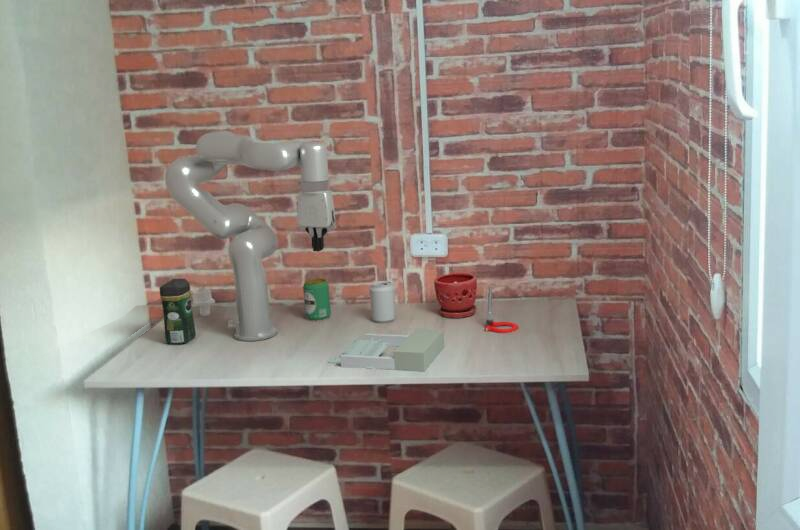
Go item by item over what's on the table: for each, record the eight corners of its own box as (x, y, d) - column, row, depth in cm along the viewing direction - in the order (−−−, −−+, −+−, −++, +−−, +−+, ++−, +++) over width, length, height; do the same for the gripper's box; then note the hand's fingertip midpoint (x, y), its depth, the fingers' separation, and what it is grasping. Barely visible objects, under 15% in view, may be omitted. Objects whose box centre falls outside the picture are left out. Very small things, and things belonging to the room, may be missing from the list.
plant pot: (456, 306, 292) (454, 270, 290) (486, 313, 283) (485, 275, 280) (427, 315, 284) (425, 278, 281) (457, 323, 274) (455, 284, 272)
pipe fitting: (214, 316, 296) (211, 292, 294) (192, 317, 296) (189, 294, 295) (218, 311, 302) (215, 288, 301) (196, 312, 303) (194, 289, 301)
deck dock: (341, 366, 241) (339, 348, 240) (366, 343, 259) (365, 326, 258) (424, 371, 234) (423, 352, 233) (444, 347, 252) (443, 329, 251)
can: (400, 318, 282) (398, 280, 280) (387, 324, 276) (385, 286, 274) (380, 315, 286) (378, 278, 284) (367, 322, 280) (364, 284, 278)
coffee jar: (174, 335, 278) (167, 276, 274) (199, 335, 276) (192, 276, 272) (161, 345, 268) (154, 284, 264) (187, 345, 267) (180, 284, 263)
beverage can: (300, 319, 288) (297, 282, 285) (318, 312, 294) (315, 277, 291) (318, 322, 283) (315, 285, 280) (336, 316, 288) (333, 279, 286)
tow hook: (521, 326, 268) (490, 324, 271) (522, 284, 265) (491, 282, 268) (514, 335, 261) (483, 332, 264) (515, 292, 258) (484, 289, 261)
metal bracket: (350, 330, 254) (396, 336, 246) (355, 347, 256) (400, 354, 249) (322, 359, 243) (369, 366, 235) (327, 377, 246) (374, 384, 238)
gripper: (285, 187, 253) (288, 251, 257) (333, 189, 248) (336, 254, 252) (297, 183, 260) (300, 246, 264) (345, 185, 255) (347, 249, 259)
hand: (318, 250), depth 258 cm, fingers closed
